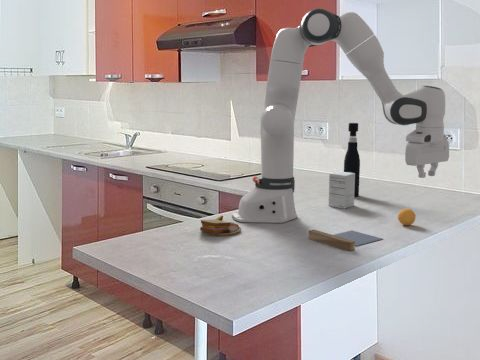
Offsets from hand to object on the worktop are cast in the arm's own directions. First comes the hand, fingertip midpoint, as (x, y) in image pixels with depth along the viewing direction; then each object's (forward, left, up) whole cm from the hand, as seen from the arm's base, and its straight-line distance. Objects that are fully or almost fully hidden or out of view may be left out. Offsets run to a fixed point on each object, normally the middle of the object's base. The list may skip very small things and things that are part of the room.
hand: (426, 176), depth 186 cm
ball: (-9, -5, -12) cm, 16 cm away
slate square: (-31, -18, -15) cm, 39 cm away
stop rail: (-40, -23, -15) cm, 48 cm away
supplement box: (-21, +26, -15) cm, 37 cm away
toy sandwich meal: (-70, -6, -16) cm, 72 cm away
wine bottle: (-11, +44, -15) cm, 48 cm away
